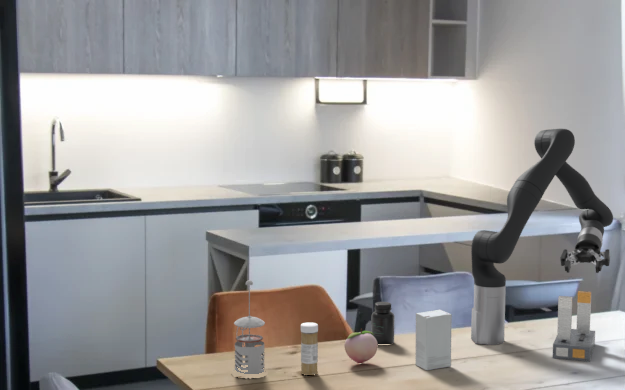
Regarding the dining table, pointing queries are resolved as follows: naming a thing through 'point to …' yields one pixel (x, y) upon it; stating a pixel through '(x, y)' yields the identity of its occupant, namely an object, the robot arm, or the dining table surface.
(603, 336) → the dining table surface
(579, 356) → the console
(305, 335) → the sprinkles bottle
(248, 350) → the french press
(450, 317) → the skincare box
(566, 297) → the grey upright block
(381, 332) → the supplement bottle
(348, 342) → the decorative fruit
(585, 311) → the knob orange
